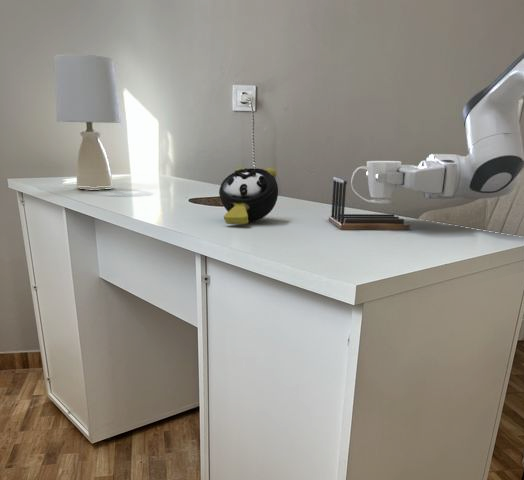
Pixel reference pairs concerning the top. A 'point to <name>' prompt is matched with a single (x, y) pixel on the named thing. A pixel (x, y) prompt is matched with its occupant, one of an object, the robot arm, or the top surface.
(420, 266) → the top surface
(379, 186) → the cup
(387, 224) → the rack
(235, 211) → the alarm clock
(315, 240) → the top surface
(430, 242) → the top surface
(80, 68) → the lamp
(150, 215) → the top surface
